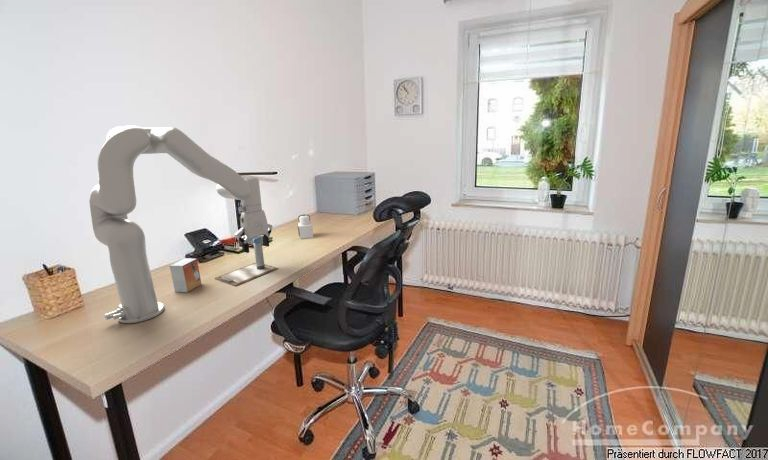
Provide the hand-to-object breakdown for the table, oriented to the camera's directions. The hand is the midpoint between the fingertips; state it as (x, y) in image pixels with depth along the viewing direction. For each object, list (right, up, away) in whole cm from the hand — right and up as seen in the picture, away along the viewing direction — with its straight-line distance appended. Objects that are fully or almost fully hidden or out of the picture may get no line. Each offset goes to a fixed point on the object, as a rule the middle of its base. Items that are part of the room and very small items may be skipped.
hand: (256, 249), depth 150 cm
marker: (+1, -8, +3) cm, 9 cm away
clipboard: (-3, -10, -1) cm, 11 cm away
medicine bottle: (+10, +4, +47) cm, 48 cm away
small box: (-21, -14, -12) cm, 28 cm away
